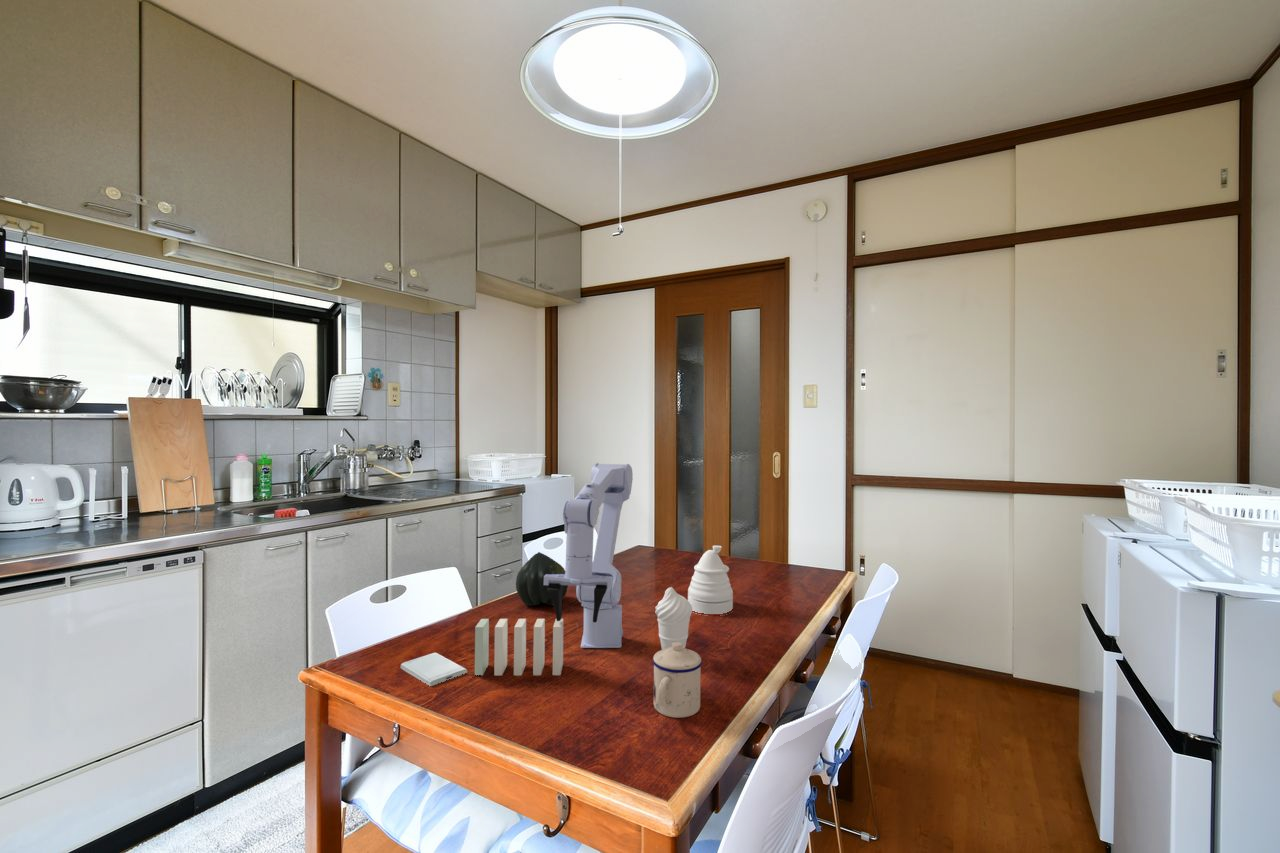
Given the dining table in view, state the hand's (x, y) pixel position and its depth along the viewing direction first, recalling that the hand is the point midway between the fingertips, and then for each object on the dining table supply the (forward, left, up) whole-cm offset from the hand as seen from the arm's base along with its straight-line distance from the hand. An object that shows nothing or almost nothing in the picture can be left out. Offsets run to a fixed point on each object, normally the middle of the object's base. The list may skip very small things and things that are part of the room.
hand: (577, 620), depth 117 cm
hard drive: (+30, 0, -11) cm, 32 cm away
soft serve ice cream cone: (-21, -5, -11) cm, 24 cm away
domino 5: (+4, 0, -11) cm, 11 cm away
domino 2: (+16, 0, -11) cm, 19 cm away
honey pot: (-35, -40, -11) cm, 54 cm away
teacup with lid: (-19, +17, -11) cm, 28 cm away
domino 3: (+12, 0, -11) cm, 16 cm away
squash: (+14, -45, -11) cm, 49 cm away
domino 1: (+20, 0, -11) cm, 23 cm away
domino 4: (+8, 0, -11) cm, 13 cm away
